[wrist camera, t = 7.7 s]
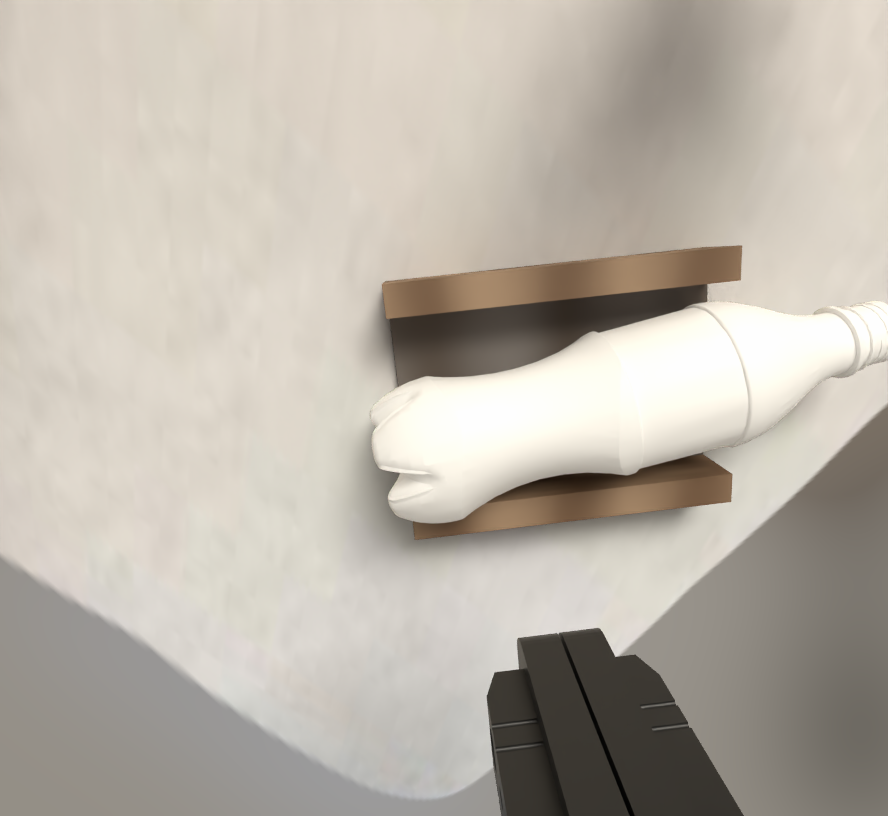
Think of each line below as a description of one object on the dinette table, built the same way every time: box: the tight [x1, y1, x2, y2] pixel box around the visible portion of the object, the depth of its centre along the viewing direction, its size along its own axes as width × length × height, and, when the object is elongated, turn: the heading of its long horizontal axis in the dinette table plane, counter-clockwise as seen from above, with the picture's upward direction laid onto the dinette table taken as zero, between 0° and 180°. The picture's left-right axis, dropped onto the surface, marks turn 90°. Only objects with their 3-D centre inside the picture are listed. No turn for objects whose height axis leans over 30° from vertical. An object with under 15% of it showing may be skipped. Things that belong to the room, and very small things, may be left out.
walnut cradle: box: [382, 246, 742, 540], centre depth 29 cm, size 17×13×4 cm
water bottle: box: [370, 301, 888, 523], centre depth 27 cm, size 7×7×25 cm
